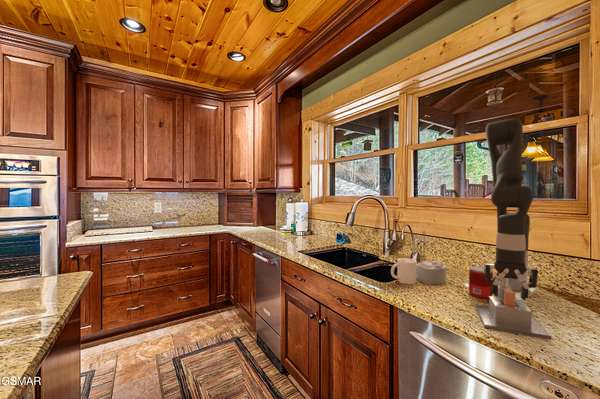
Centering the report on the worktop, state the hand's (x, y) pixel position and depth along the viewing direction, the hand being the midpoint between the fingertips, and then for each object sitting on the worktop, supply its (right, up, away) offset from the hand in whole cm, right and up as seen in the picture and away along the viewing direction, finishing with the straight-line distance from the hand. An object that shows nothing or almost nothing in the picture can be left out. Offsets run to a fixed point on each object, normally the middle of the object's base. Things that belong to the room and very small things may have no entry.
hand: (509, 297), depth 87 cm
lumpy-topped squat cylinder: (-5, -7, +41) cm, 41 cm away
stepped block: (0, -7, 0) cm, 7 cm away
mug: (-20, -7, +38) cm, 44 cm away
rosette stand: (+1, -8, +1) cm, 8 cm away
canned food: (+6, -8, +22) cm, 24 cm away
